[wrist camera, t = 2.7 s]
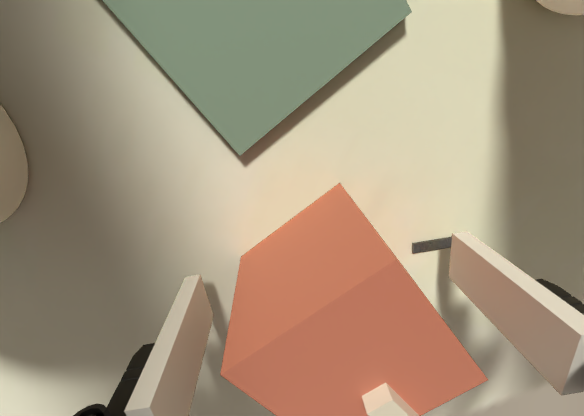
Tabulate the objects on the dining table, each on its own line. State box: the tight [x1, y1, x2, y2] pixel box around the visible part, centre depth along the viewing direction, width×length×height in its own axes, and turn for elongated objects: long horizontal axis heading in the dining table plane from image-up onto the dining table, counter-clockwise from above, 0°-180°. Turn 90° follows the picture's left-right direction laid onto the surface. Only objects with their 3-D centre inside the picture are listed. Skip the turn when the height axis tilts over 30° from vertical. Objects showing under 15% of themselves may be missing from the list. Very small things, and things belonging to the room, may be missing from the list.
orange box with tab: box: [220, 183, 488, 416], centre depth 13 cm, size 7×7×8 cm
